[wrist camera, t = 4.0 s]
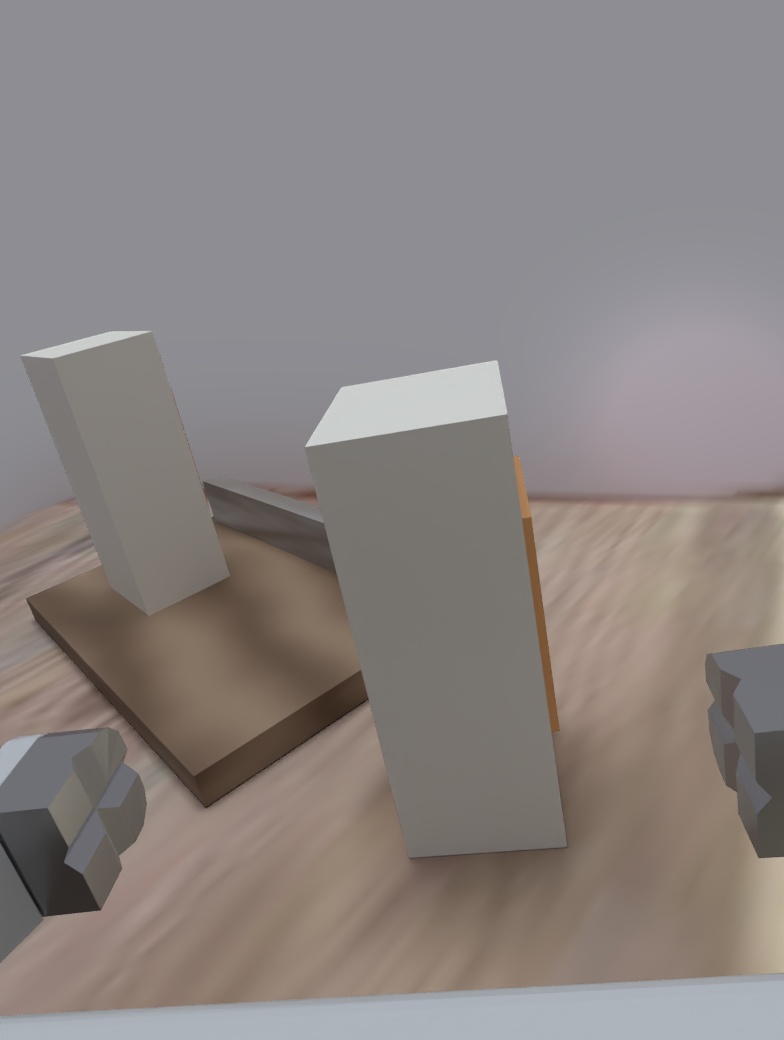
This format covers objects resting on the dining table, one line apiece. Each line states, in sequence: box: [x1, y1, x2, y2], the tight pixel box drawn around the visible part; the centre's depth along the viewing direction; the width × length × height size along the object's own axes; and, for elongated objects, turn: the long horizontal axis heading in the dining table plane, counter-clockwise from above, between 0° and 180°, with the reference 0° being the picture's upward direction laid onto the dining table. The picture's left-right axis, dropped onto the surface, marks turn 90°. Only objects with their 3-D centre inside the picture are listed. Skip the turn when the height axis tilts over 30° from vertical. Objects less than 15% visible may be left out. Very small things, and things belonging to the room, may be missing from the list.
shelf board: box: [26, 475, 368, 807], centre depth 40 cm, size 14×24×4 cm, turn 40°
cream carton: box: [305, 360, 567, 858], centre depth 23 cm, size 5×6×14 cm
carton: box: [21, 331, 230, 616], centre depth 41 cm, size 5×6×14 cm
